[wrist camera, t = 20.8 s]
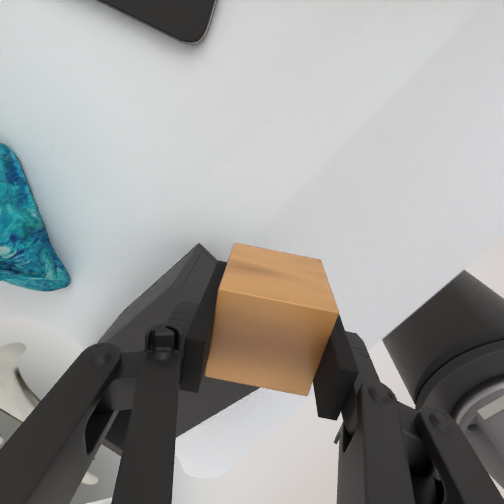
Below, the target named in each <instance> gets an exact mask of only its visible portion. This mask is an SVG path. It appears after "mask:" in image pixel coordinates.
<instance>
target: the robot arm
mask: <svg viewBox="0 0 504 504" xmlns="http://www.w3.org/2000/svg"><path fill="white" fill-rule="evenodd" d="M227 263H228V262H223V261H218V262H217V264H216V267H215V269H214V271H213V274H212V276H211V278H210V281H209V283H208V285H207V288H206V290H205V292H204V295H203V297H202V299H201V302H200V303H197V302H192V301H187V300H182V301H181V302H179V303H178V304H176V305H175V307H174V309H173V311H172V313H171V314H170V316H169V318H168V320H167V321H166V323H158V324H156V325H153V326H151V327H150V328H149V329H148V330H147V331H146V333H145V349H144V350H140V351H135V352H121V350H120V348H119V347H118V346H117V345H115V344H112V343H98V344H94V345H92V346H90V347H88V348H87V349H85V350H84V351H83V352H82V353H81V354H80V355H79V357H78V358H77V359H76V360H75V361H74V363H73V364H72V365H71V366H70V367H69V369H68V370H67V371H66V372H65V373H64V374H63V376H62V377H61V378H60V379H59V380H58V382H57V383H56V384H55V385H54V386H53V388H52V389H51V390H50V391H49V392H48V393H47V395H46V396H45V397H44V398H43V399H42V401H41V402H40V403H39V404H38V405H37V407H36V408H35V409H34V410H33V411H32V412H31V414H30V415H29V416H28V417H27V418H26V420H25V421H24V422H23V423H22V424H21V426H20V427H19V428H18V429H17V430H16V432H15V433H14V434H13V435H12V436H11V437H10V439H9V440H8V441H7V442H6V443H5V445H4V446H3V447H2V448H1V449H0V504H69V503H70V502H71V500H72V498H73V496H74V494H75V492H76V490H77V488H78V486H79V485H80V483H81V481H82V479H83V477H84V475H85V474H86V472H87V470H88V468H89V466H90V464H91V462H92V460H93V459H94V457H95V455H96V453H97V451H98V449H99V447H100V445H101V444H102V442H103V440H104V438H105V436H106V434H107V432H108V431H109V429H110V427H111V425H112V423H113V421H114V419H115V417H116V416H117V414H118V412H119V410H126V409H132V411H131V415H130V420H129V425H128V429H127V434H126V438H125V443H124V448H123V452H122V457H121V461H120V466H119V471H118V476H117V480H116V484H115V489H114V494H113V498H112V503H111V504H171V501H172V486H173V471H174V455H175V439H176V424H177V408H178V392H179V390H183V391H188V392H193V393H198V391H199V388H200V384H201V381H202V377H203V374H204V370H205V367H206V363H207V360H208V354H209V347H210V341H211V335H212V329H213V322H214V316H215V307H216V301H217V294H218V289H219V286H220V283H221V280H222V277H223V274H224V271H225V268H226V266H227ZM179 385H180V389H179ZM313 385H314V392H315V398H316V405H317V412H318V417H321V418H327V419H331V420H337V418H338V416H339V414H340V412H341V413H342V417H343V423H342V426H341V427H340V430H339V432H338V434H337V436H336V438H335V441H334V443H335V444H337V442H338V440H339V462H338V486H337V504H504V499H503V498H502V496H501V494H500V492H499V491H498V489H497V487H496V486H495V484H494V482H493V481H492V479H491V478H490V476H491V477H492V478H493V479H494V480H495V481H496V482H497V483H498V484H500V486H502V487H503V488H504V374H503V375H499V376H496V377H493V378H491V379H488V380H486V381H484V382H482V383H480V384H478V385H476V386H475V387H473V388H472V389H470V390H469V391H468V392H466V393H465V394H464V395H463V396H462V397H461V398H460V399H459V400H458V402H457V403H456V405H455V406H454V408H453V410H452V413H451V416H450V415H449V414H448V413H446V412H445V411H443V410H442V409H440V408H438V407H435V406H433V405H424V406H422V407H421V409H420V410H419V411H417V410H415V409H413V408H411V407H409V406H406V405H404V404H402V403H400V402H399V401H397V399H396V397H395V395H394V393H393V392H392V391H391V390H390V389H389V388H388V387H387V386H386V385H384V384H382V383H381V382H380V380H379V377H378V375H377V373H376V370H375V368H374V366H373V363H372V361H371V359H370V356H369V353H368V352H367V349H366V346H365V344H364V342H363V340H362V339H361V338H360V337H359V336H358V335H357V334H356V333H352V332H347V331H345V330H344V327H343V324H342V321H341V318H340V315H338V317H337V320H336V322H335V325H334V328H333V330H332V333H331V335H330V337H329V340H328V342H327V345H326V348H325V350H324V353H323V355H322V358H321V361H320V363H319V366H318V368H317V371H316V374H315V376H314V379H313ZM436 470H437V471H436ZM437 472H438V473H437ZM489 474H490V476H489Z"/></svg>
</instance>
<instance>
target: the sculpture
mask: <svg viewBox="0 0 504 504" xmlns="http://www.w3.org/2000/svg"><path fill="white" fill-rule="evenodd" d="M0 281H5V282H8V283H10V284H13V285H17V286H20V287H24V288H28V289H32V290H38V291H54V290H57V289H61V288H64V287H67V286H68V285H69V284H70V279H69V275H68V273H67V271H66V269H65V268H64V266H63V265H62V263H61V261H60V260H59V258H58V257H57V255H56V254H55V252H54V250H53V248H52V246H51V244H50V241H49V238H48V235H47V232H46V229H45V227H44V224H43V222H42V219H41V217H40V214H39V212H38V209H37V207H36V204H35V202H34V199H33V197H32V194H31V192H30V189H29V187H28V184H27V181H26V179H25V176H24V173H23V171H22V168H21V166H20V164H19V161H18V159H17V157H16V156H15V154H14V153H13V152H12V150H11V149H10V148H9V147H7V146H6V145H4V144H1V143H0Z"/></svg>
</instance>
